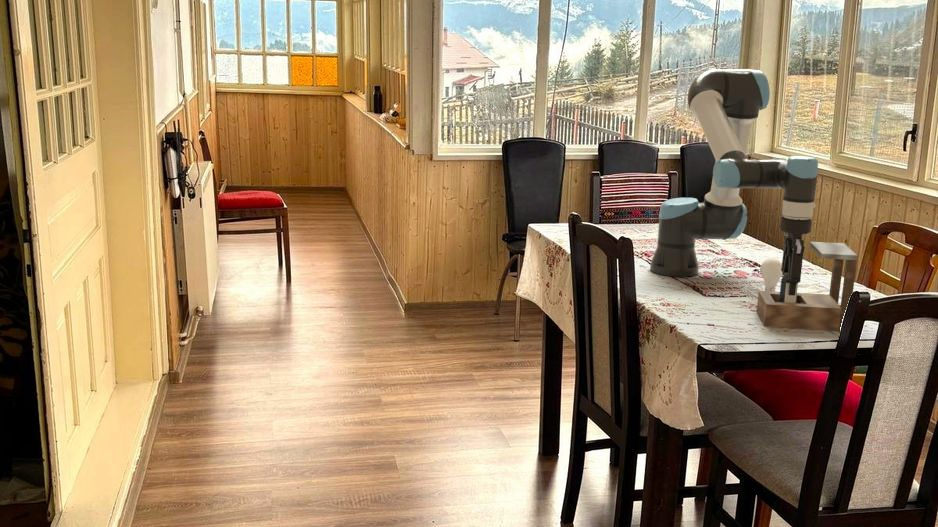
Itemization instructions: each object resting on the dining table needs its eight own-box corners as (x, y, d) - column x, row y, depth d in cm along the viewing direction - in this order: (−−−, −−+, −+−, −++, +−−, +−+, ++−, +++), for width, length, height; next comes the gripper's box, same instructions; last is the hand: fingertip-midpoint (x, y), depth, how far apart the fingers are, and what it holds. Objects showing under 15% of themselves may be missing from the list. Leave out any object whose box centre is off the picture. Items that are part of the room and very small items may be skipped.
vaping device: (789, 307, 226) (793, 262, 224) (777, 302, 231) (781, 258, 229) (797, 306, 227) (802, 262, 224) (785, 301, 232) (789, 257, 229)
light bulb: (762, 290, 259) (766, 254, 256) (784, 294, 255) (788, 258, 252) (754, 294, 254) (757, 258, 251) (776, 299, 250) (780, 262, 247)
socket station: (764, 326, 225) (772, 251, 220) (756, 311, 238) (763, 239, 233) (847, 332, 222) (857, 255, 217) (834, 315, 235) (843, 243, 230)
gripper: (820, 224, 214) (809, 314, 220) (804, 211, 232) (795, 294, 237) (788, 222, 216) (778, 312, 221) (775, 209, 233) (767, 293, 238)
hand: (787, 303), depth 229 cm, fingers closed on vaping device, 5 cm apart
